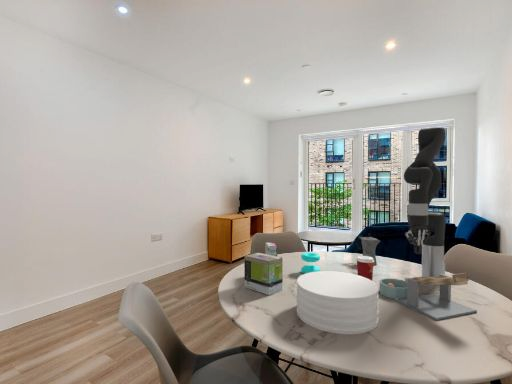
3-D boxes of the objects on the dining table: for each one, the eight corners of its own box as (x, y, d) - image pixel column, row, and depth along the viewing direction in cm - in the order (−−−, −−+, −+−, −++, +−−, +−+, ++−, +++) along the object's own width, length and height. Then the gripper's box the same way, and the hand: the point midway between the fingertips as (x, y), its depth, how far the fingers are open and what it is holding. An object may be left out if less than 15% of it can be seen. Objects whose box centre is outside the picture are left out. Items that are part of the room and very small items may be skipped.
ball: (396, 290, 120) (391, 289, 123) (395, 283, 121) (390, 282, 124) (391, 291, 119) (386, 290, 122) (389, 283, 120) (384, 283, 123)
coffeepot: (383, 264, 165) (383, 234, 165) (376, 267, 158) (376, 236, 158) (358, 259, 176) (358, 231, 176) (351, 262, 169) (351, 233, 169)
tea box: (283, 289, 123) (283, 256, 123) (268, 296, 116) (268, 261, 116) (258, 282, 134) (258, 251, 133) (243, 287, 126) (243, 255, 126)
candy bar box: (277, 279, 138) (277, 246, 138) (267, 279, 137) (267, 246, 137) (274, 272, 149) (274, 241, 149) (264, 272, 148) (264, 242, 148)
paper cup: (375, 292, 121) (376, 260, 121) (357, 290, 122) (357, 259, 122) (372, 285, 128) (372, 255, 128) (354, 284, 130) (354, 255, 130)
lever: (389, 284, 118) (387, 275, 119) (417, 280, 123) (415, 271, 124) (457, 286, 91) (454, 274, 92) (490, 281, 96) (486, 270, 97)
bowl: (395, 287, 127) (395, 277, 127) (418, 297, 115) (418, 286, 115) (373, 290, 123) (373, 280, 123) (395, 301, 111) (395, 289, 111)
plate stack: (293, 298, 114) (293, 270, 114) (361, 299, 113) (361, 271, 113) (302, 333, 86) (302, 297, 86) (393, 335, 85) (393, 298, 85)
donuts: (297, 253, 149) (310, 251, 155) (297, 272, 149) (310, 269, 155) (310, 257, 141) (324, 254, 147) (310, 277, 141) (324, 273, 147)
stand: (396, 301, 111) (396, 275, 111) (433, 295, 117) (434, 270, 117) (436, 320, 95) (436, 290, 95) (476, 312, 101) (477, 284, 101)
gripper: (421, 212, 125) (421, 250, 126) (398, 213, 121) (398, 253, 121) (437, 213, 118) (437, 254, 118) (413, 215, 114) (413, 257, 114)
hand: (417, 253), depth 120 cm, fingers closed
